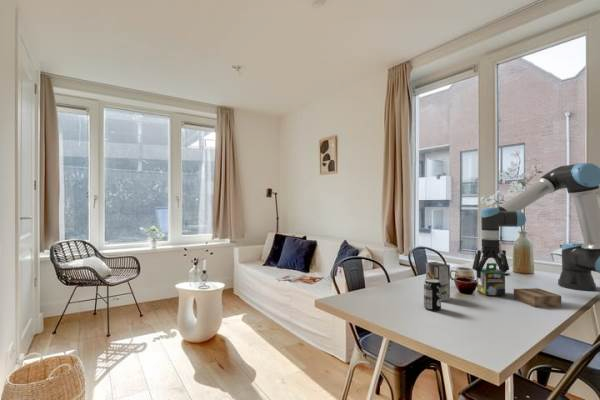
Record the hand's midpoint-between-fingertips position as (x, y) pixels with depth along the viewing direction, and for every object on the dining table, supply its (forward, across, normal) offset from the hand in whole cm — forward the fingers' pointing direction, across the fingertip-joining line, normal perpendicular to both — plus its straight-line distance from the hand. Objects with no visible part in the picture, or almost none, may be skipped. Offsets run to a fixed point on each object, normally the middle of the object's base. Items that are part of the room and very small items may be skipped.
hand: (490, 284), depth 154 cm
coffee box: (+4, +29, +7) cm, 30 cm away
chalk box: (+4, 0, 0) cm, 4 cm away
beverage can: (+4, +38, +22) cm, 44 cm away
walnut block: (+5, -12, +14) cm, 19 cm away
